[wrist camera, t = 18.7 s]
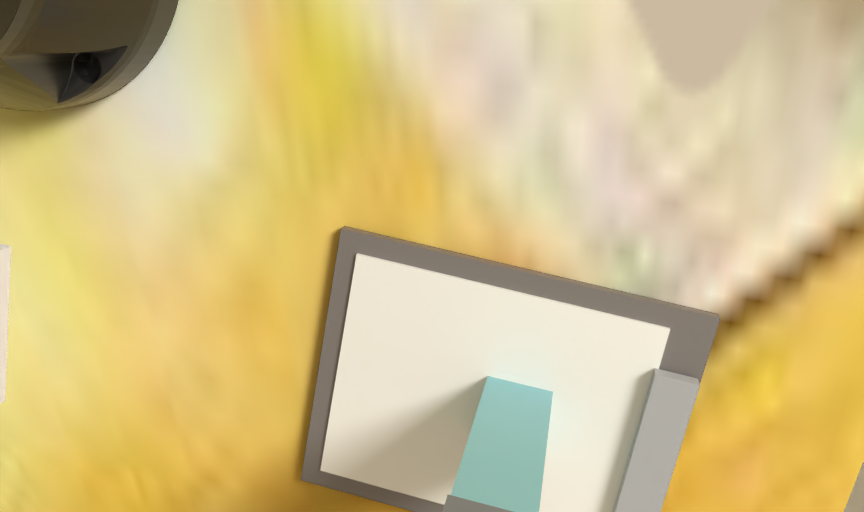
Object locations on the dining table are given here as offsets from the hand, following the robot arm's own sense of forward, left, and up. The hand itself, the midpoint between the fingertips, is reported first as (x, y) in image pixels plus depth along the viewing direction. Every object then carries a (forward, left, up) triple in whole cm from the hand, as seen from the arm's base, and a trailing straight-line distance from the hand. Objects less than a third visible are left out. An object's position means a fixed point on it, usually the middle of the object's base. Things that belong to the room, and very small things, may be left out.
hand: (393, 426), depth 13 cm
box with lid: (+2, -12, -26) cm, 29 cm away
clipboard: (+1, -12, -27) cm, 29 cm away
